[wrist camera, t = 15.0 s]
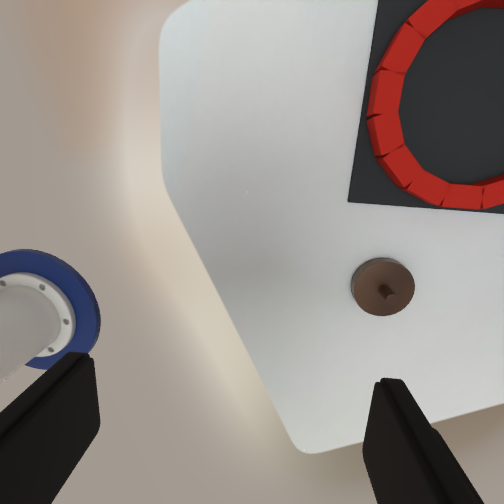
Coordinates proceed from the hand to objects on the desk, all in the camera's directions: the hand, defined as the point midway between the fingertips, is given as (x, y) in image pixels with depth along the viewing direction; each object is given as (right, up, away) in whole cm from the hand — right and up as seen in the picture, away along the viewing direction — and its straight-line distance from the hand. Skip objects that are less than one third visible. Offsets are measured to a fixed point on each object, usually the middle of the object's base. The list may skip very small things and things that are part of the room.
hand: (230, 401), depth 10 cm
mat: (+21, +19, +18) cm, 34 cm away
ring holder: (+15, +1, +24) cm, 29 cm away
